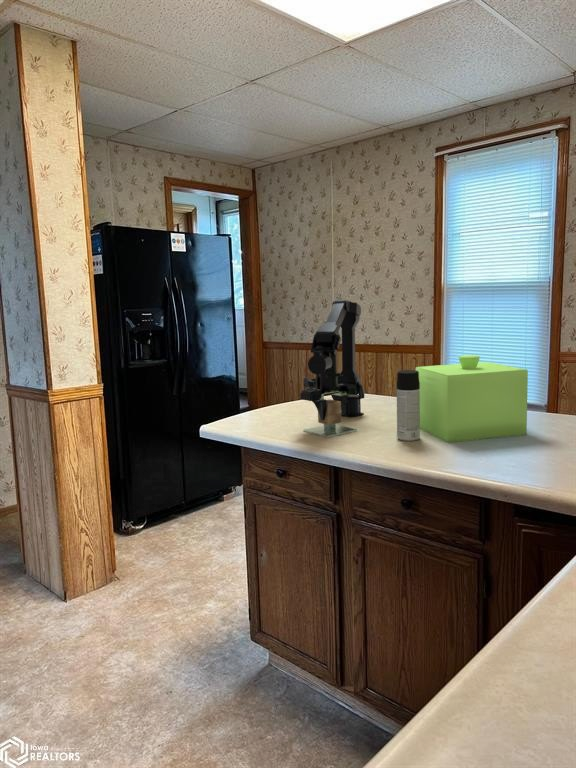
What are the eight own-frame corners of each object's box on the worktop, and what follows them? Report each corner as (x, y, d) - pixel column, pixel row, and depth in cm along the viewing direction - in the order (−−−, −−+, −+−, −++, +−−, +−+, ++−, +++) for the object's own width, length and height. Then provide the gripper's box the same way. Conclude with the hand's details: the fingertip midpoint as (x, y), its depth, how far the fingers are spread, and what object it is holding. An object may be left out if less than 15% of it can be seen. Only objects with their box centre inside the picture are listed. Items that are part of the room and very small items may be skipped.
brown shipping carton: (330, 419, 187) (330, 399, 186) (341, 422, 183) (340, 401, 182) (318, 422, 184) (317, 401, 183) (328, 425, 180) (328, 403, 179)
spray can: (421, 436, 172) (420, 369, 169) (418, 442, 166) (418, 373, 163) (398, 435, 174) (397, 369, 171) (395, 441, 168) (394, 372, 165)
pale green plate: (332, 424, 192) (331, 404, 191) (356, 430, 182) (356, 409, 181) (303, 431, 185) (302, 409, 184) (327, 437, 175) (326, 415, 174)
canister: (447, 442, 164) (447, 362, 160) (416, 426, 185) (415, 354, 181) (526, 434, 169) (528, 356, 165) (487, 420, 190) (488, 350, 186)
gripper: (333, 364, 192) (335, 410, 195) (288, 371, 182) (290, 419, 184) (356, 367, 183) (358, 415, 186) (310, 374, 173) (312, 425, 175)
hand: (329, 418), depth 183 cm, fingers closed on brown shipping carton, 5 cm apart
